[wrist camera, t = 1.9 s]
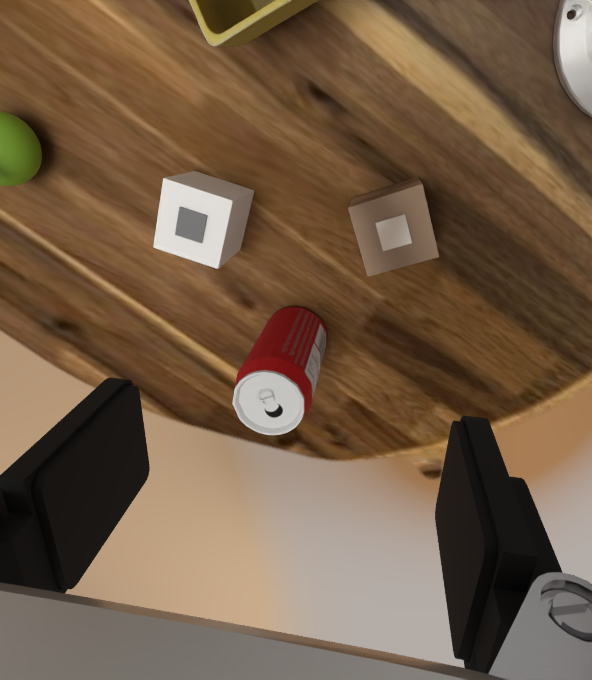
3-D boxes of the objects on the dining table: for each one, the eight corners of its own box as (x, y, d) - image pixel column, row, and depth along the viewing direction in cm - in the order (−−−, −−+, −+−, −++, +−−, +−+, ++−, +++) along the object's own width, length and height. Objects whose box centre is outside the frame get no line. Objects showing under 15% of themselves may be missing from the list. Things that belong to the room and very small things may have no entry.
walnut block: (417, 176, 35) (422, 184, 30) (432, 241, 36) (439, 257, 32) (352, 197, 36) (347, 208, 31) (369, 259, 38) (367, 277, 33)
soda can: (256, 318, 42) (211, 385, 31) (310, 295, 40) (284, 357, 29) (284, 370, 43) (251, 450, 32) (338, 349, 41) (322, 427, 31)
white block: (254, 190, 37) (231, 201, 31) (240, 249, 39) (217, 269, 34) (195, 170, 37) (162, 178, 32) (184, 231, 39) (152, 248, 34)
